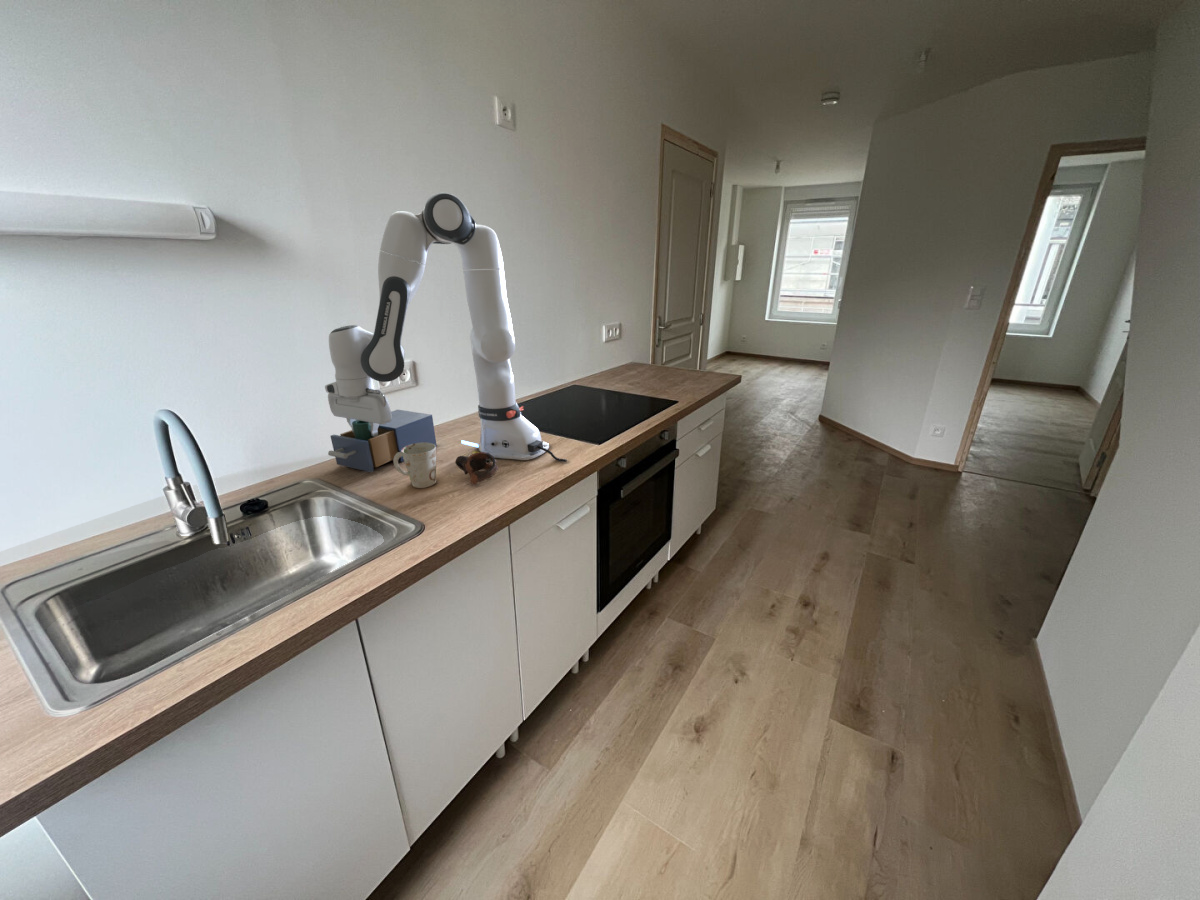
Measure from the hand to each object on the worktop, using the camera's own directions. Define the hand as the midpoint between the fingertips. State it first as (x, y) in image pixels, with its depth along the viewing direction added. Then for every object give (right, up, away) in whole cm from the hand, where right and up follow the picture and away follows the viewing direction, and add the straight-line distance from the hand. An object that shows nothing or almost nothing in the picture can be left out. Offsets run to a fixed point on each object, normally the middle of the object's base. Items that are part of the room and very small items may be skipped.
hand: (365, 434), depth 129 cm
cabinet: (+5, -5, +13) cm, 15 cm away
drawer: (0, -8, +2) cm, 8 cm away
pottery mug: (+34, -12, -6) cm, 37 cm away
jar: (0, -2, +1) cm, 3 cm away
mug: (+18, -13, -9) cm, 24 cm away
